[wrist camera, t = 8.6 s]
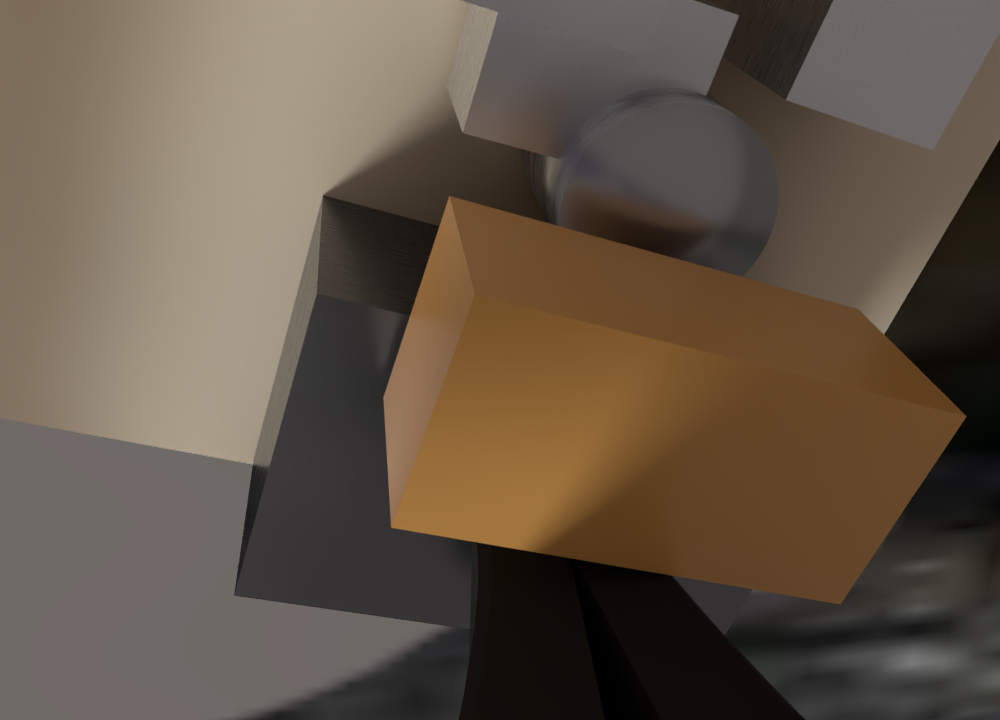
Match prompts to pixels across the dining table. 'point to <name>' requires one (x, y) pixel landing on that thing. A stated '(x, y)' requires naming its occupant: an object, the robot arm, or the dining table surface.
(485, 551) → the robot arm
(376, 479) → the tongs frame
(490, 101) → the bar
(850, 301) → the board
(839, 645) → the dining table surface
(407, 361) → the block
